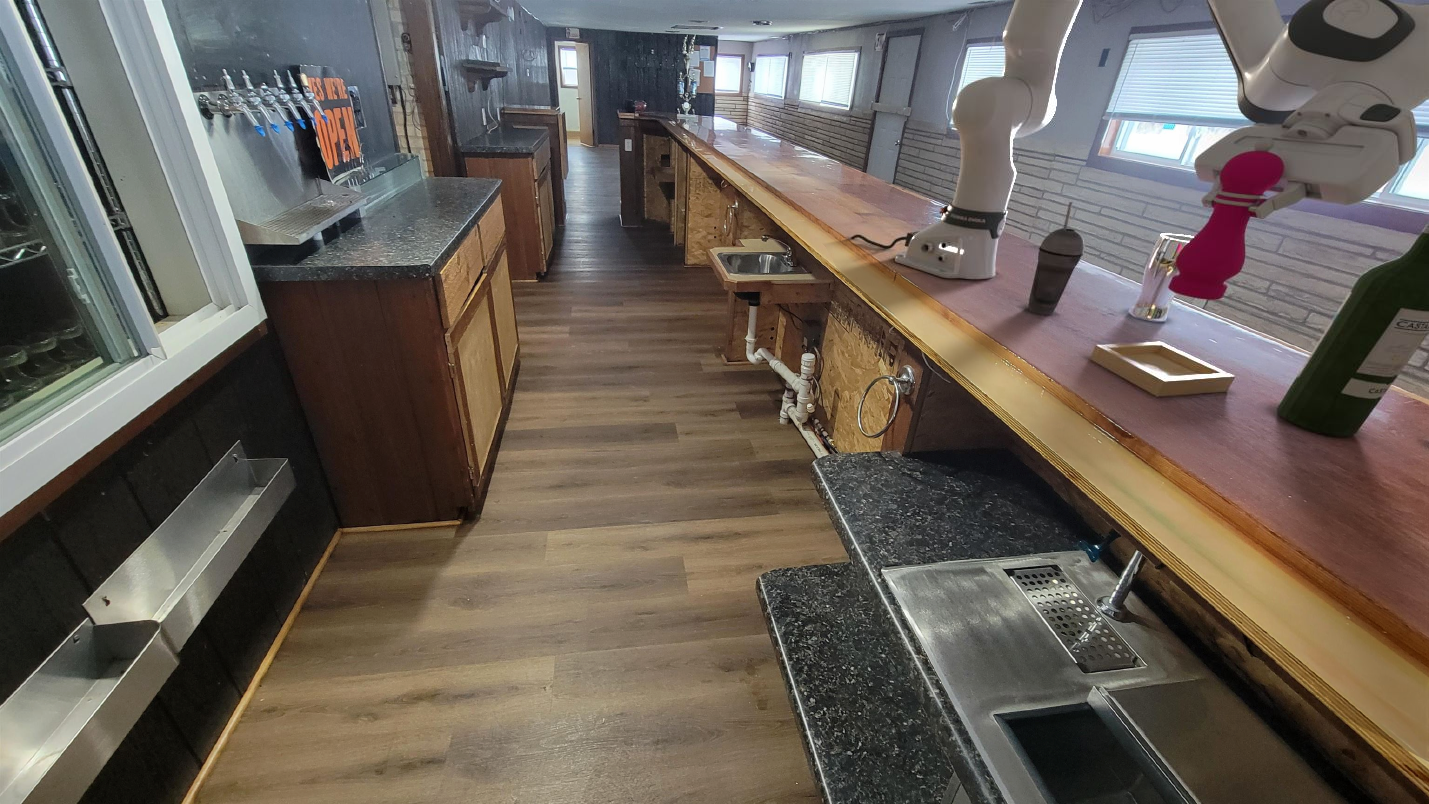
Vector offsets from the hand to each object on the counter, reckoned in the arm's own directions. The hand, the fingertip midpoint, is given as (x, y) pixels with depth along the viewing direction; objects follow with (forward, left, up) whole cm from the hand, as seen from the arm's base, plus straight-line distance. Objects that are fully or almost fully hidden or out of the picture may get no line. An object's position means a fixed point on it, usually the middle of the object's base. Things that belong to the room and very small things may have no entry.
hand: (1230, 209), depth 74 cm
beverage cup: (-22, +16, -24) cm, 36 cm away
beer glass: (-7, +30, -24) cm, 39 cm away
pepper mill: (0, +1, -12) cm, 12 cm away
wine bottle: (+18, 0, -24) cm, 31 cm away
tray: (0, 0, -24) cm, 24 cm away
